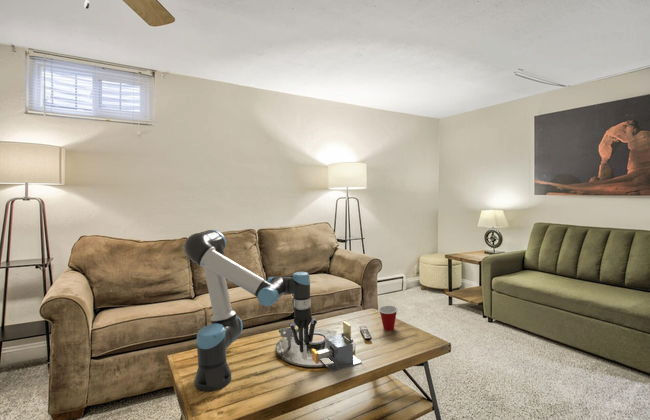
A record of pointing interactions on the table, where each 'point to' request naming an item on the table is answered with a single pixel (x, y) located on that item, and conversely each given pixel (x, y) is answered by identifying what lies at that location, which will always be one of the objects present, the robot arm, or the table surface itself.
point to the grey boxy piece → (341, 352)
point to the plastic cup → (388, 317)
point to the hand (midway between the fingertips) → (304, 358)
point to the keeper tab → (346, 330)
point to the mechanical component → (287, 334)
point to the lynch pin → (322, 354)
